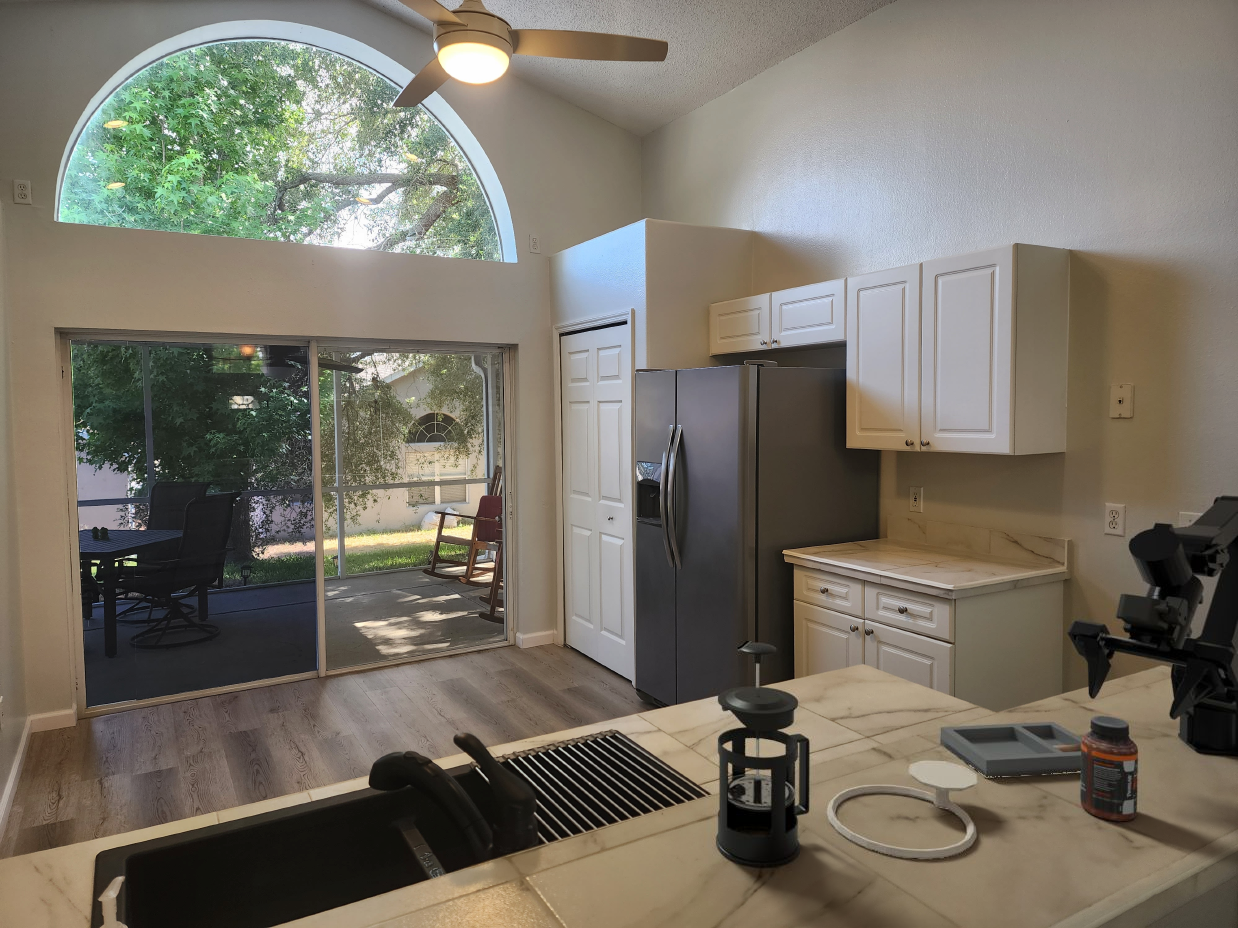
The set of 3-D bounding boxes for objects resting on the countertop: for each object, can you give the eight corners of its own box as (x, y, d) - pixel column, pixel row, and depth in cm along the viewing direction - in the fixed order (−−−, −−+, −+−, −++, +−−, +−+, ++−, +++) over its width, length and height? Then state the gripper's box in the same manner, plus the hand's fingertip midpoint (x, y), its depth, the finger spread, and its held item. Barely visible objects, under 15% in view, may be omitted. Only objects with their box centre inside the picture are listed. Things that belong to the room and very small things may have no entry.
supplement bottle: (1146, 825, 93) (1148, 731, 93) (1090, 820, 94) (1092, 728, 94) (1124, 802, 99) (1126, 713, 99) (1072, 798, 100) (1074, 710, 100)
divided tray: (1052, 737, 120) (1052, 721, 120) (1109, 771, 108) (1110, 753, 108) (940, 743, 118) (940, 727, 118) (986, 778, 106) (986, 760, 106)
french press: (736, 876, 83) (736, 661, 82) (696, 834, 92) (696, 639, 91) (829, 854, 87) (830, 650, 86) (783, 816, 96) (783, 630, 95)
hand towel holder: (797, 778, 97) (908, 743, 108) (797, 813, 97) (908, 775, 108) (910, 838, 83) (1027, 791, 93) (910, 879, 83) (1026, 827, 93)
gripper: (1075, 561, 110) (1033, 652, 104) (1238, 582, 94) (1200, 690, 88) (1100, 610, 114) (1061, 700, 108) (1259, 637, 99) (1224, 743, 93)
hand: (1129, 706), depth 99 cm, fingers open, 9 cm apart
